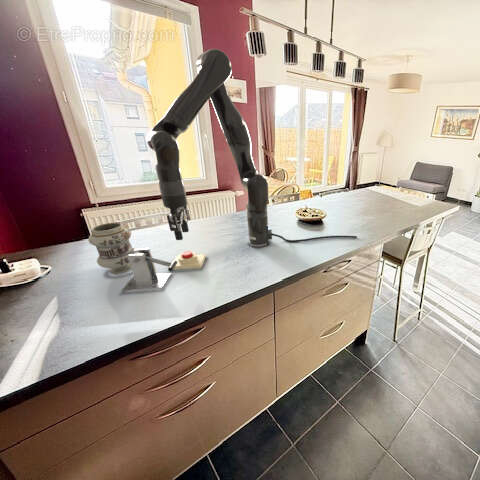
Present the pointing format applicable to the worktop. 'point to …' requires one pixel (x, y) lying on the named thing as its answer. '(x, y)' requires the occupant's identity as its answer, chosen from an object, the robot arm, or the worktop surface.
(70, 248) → the worktop surface
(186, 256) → the button
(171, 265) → the lever
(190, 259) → the button block
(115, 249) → the apothecary jar
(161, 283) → the bracket
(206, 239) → the worktop surface
